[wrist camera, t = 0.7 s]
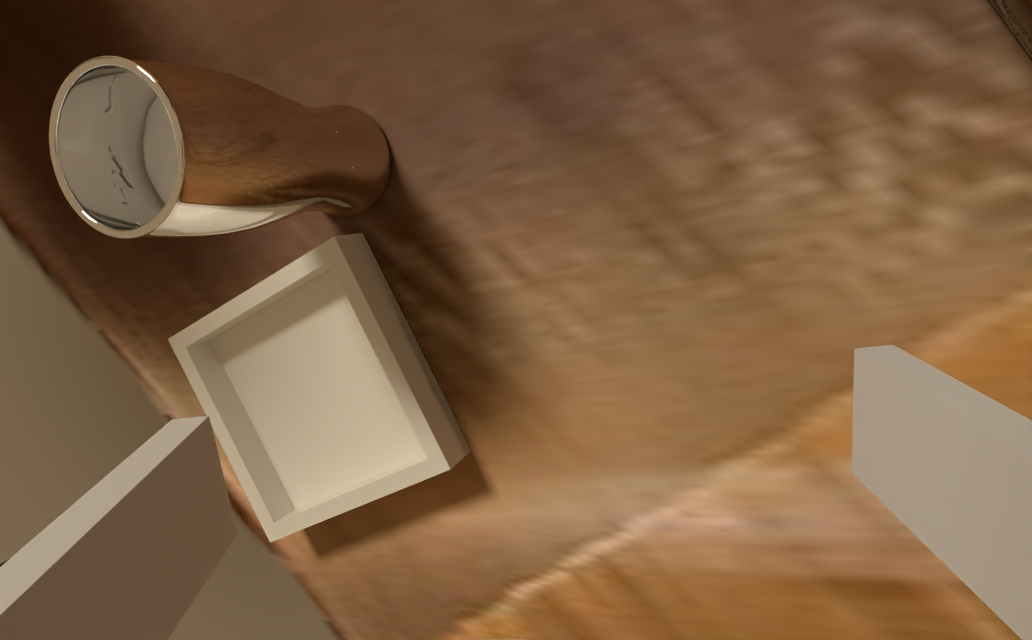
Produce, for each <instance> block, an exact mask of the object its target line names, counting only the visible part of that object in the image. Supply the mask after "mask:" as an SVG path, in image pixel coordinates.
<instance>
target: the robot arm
mask: <svg viewBox="0 0 1032 640" xmlns="http://www.w3.org/2000/svg"><path fill="white" fill-rule="evenodd" d="M851 473H852V474H854V475H855V476H856V477H857V478H858V479H859V480H860V481H861V482H862V483H863V484H864V485H865V486H866V487H867V488H868V489H869V490H870V491H871V492H872V493H873V494H874V495H875V496H876V497H877V498H878V499H879V500H880V501H881V502H882V503H883V504H884V505H885V506H886V507H887V508H888V509H889V510H890V511H891V512H892V513H893V514H894V515H895V516H896V517H897V518H898V519H899V520H900V521H901V522H902V523H903V524H905V525H906V526H907V527H908V528H909V529H910V530H911V531H912V532H913V533H914V534H915V535H916V536H917V537H918V538H919V539H920V540H921V541H922V542H923V543H924V544H925V545H926V546H927V547H928V548H929V549H930V550H931V551H932V552H933V553H934V554H935V555H936V556H937V557H938V558H939V559H940V560H941V561H942V562H943V563H944V564H945V565H946V566H947V567H948V568H949V569H950V570H951V571H952V572H953V573H954V574H956V575H957V576H958V577H959V578H960V579H961V580H962V581H963V582H964V583H965V584H966V585H967V586H968V587H969V588H970V589H971V590H972V591H973V592H974V593H975V594H976V595H977V596H978V597H979V598H980V599H981V600H982V601H983V602H984V603H985V604H986V605H987V606H988V607H989V608H990V609H991V610H992V611H993V612H994V613H995V614H996V615H997V616H998V617H999V618H1000V619H1001V620H1002V621H1003V622H1004V623H1005V624H1007V625H1008V626H1009V627H1010V628H1011V629H1012V630H1013V631H1014V632H1015V633H1016V634H1017V635H1018V636H1019V637H1020V638H1021V639H1022V640H1032V421H1031V420H1029V419H1028V418H1026V417H1024V416H1022V415H1020V414H1018V413H1017V412H1015V411H1013V410H1011V409H1009V408H1007V407H1006V406H1004V405H1002V404H1000V403H998V402H996V401H995V400H993V399H991V398H989V397H987V396H986V395H984V394H982V393H980V392H978V391H976V390H975V389H973V388H971V387H969V386H967V385H965V384H964V383H962V382H960V381H958V380H956V379H954V378H953V377H951V376H949V375H947V374H945V373H943V372H942V371H940V370H938V369H936V368H934V367H932V366H931V365H929V364H927V363H925V362H923V361H921V360H920V359H918V358H916V357H914V356H912V355H910V354H909V353H907V352H905V351H903V350H901V349H899V348H898V347H896V346H894V345H886V346H876V347H867V348H857V349H855V352H854V390H853V429H852V468H851ZM236 536H237V530H236V526H235V522H234V518H233V514H232V509H231V505H230V501H229V497H228V493H227V489H226V484H225V480H224V476H223V472H222V468H221V463H220V459H219V455H218V451H217V447H216V442H215V438H214V434H213V430H212V426H211V422H210V417H209V416H202V417H192V418H182V419H173V420H171V421H170V422H169V423H167V424H166V425H165V426H164V427H163V428H162V429H160V430H159V431H158V432H157V433H156V434H155V435H153V436H152V437H151V438H150V439H149V440H148V441H146V442H145V443H144V444H143V445H142V446H141V447H139V448H138V449H137V450H136V451H135V452H134V453H132V454H131V455H130V456H129V457H128V458H127V459H125V460H124V461H123V462H122V463H121V464H120V465H119V466H117V467H116V468H115V469H114V470H113V471H112V472H111V473H109V474H108V475H107V476H106V477H105V478H103V479H102V480H101V481H100V482H99V483H98V484H97V485H95V486H94V487H93V488H92V489H91V490H90V491H88V492H87V493H86V494H85V495H84V496H82V498H80V499H79V500H78V501H77V502H76V503H74V504H73V505H72V506H71V507H70V508H69V509H68V510H66V511H65V512H64V513H63V514H61V515H60V516H59V517H58V518H57V519H56V520H55V521H53V522H52V523H51V524H50V525H49V526H48V527H47V528H45V529H44V530H43V531H42V532H41V533H39V534H38V535H37V536H36V537H35V538H34V539H33V540H31V541H30V542H29V543H28V544H27V545H25V546H24V547H23V548H22V549H21V550H20V551H18V552H17V553H16V554H15V555H14V556H13V557H12V558H10V559H9V560H7V561H5V562H4V563H2V564H0V640H168V638H169V637H170V635H171V634H172V632H173V630H174V629H175V628H176V626H177V625H178V623H179V622H180V620H181V619H182V617H183V616H184V614H185V613H186V611H187V610H188V608H189V607H190V605H191V604H192V602H193V601H194V599H195V598H196V596H197V595H198V593H199V592H200V590H201V589H202V587H203V586H204V584H205V583H206V581H207V579H208V578H209V577H210V575H211V574H212V572H213V571H214V569H215V568H216V566H217V565H218V563H219V562H220V560H221V559H222V557H223V556H224V554H225V553H226V551H227V550H228V548H229V546H230V545H231V544H232V542H233V541H234V539H235V538H236Z"/></svg>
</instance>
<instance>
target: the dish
mask: <svg viewBox="0 0 1032 640" xmlns="http://www.w3.org/2000/svg"><path fill="white" fill-rule="evenodd" d="M168 341H169V343H170V345H171V347H172V349H173V351H174V353H175V355H176V357H177V359H178V361H179V362H180V364H181V366H182V368H183V370H184V372H185V374H186V376H187V378H188V380H189V382H190V384H191V386H192V388H193V390H194V392H195V394H196V396H197V398H198V400H199V402H200V404H201V406H202V408H203V410H204V412H205V414H206V416H209V417H210V422H211V426H212V428H213V430H214V432H215V434H216V436H217V438H218V440H219V442H220V444H221V446H222V448H223V450H224V452H225V454H226V456H227V458H228V460H229V462H230V464H231V466H232V468H233V470H234V472H235V474H236V476H237V478H238V480H239V482H240V484H241V486H242V487H243V489H244V491H245V493H246V495H247V497H248V499H249V501H250V503H251V505H252V507H253V509H254V511H255V513H256V515H257V517H258V519H259V521H260V523H261V525H262V527H263V529H264V531H265V533H266V535H267V537H268V539H269V541H270V542H272V541H275V540H277V539H280V538H282V537H285V536H287V535H290V534H292V533H295V532H297V531H300V530H302V529H305V528H307V527H310V526H312V525H315V524H317V523H319V522H322V521H324V520H327V519H329V518H332V517H334V516H337V515H339V514H342V513H344V512H347V511H349V510H352V509H354V508H357V507H359V506H362V505H364V504H367V503H369V502H371V501H374V500H376V499H379V498H381V497H384V496H386V495H389V494H391V493H394V492H396V491H399V490H401V489H404V488H406V487H409V486H411V485H414V484H416V483H418V482H421V481H423V480H426V479H428V478H431V477H433V476H436V475H438V474H441V473H443V472H446V471H448V470H451V469H452V468H453V467H454V466H455V465H456V464H457V463H458V462H459V461H461V460H462V459H463V458H464V457H465V456H466V455H467V454H468V453H469V452H470V451H471V450H470V448H469V446H468V444H467V442H466V440H465V438H464V436H463V434H462V432H461V430H460V428H459V426H458V424H457V422H456V420H455V418H454V416H453V414H452V412H451V409H450V407H449V405H448V403H447V401H446V399H445V397H444V395H443V393H442V391H441V389H440V387H439V385H438V383H437V381H436V379H435V377H434V375H433V373H432V371H431V369H430V367H429V365H428V363H427V361H426V359H425V357H424V355H423V353H422V351H421V349H420V347H419V345H418V343H417V341H416V339H415V337H414V335H413V333H412V331H411V329H410V327H409V325H408V323H407V321H406V319H405V317H404V315H403V313H402V311H401V309H400V307H399V305H398V303H397V301H396V299H395V297H394V295H393V293H392V291H391V289H390V287H389V285H388V283H387V281H386V279H385V277H384V275H383V273H382V271H381V269H380V267H379V265H378V263H377V261H376V259H375V257H374V255H373V253H372V251H371V249H370V247H369V245H368V243H367V241H366V239H365V237H364V235H363V233H358V234H350V235H342V236H334V237H333V238H331V239H329V240H328V241H326V242H324V243H323V244H321V245H320V246H318V247H316V248H315V249H313V250H311V251H310V252H308V253H307V254H305V255H303V256H302V257H300V258H299V259H297V260H295V261H294V262H292V263H290V264H289V265H287V266H286V267H284V268H282V269H281V270H279V271H277V272H276V273H274V274H273V275H271V276H269V277H268V278H266V279H264V280H263V281H261V282H260V283H258V284H256V285H255V286H253V287H251V288H250V289H248V290H247V291H245V292H243V293H242V294H240V295H239V296H237V297H235V298H234V299H232V300H230V301H229V302H227V303H226V304H224V305H222V306H221V307H219V308H217V309H216V310H214V311H213V312H211V313H209V314H208V315H206V316H204V317H203V318H201V319H200V320H198V321H196V322H195V323H193V324H191V325H190V326H188V327H187V328H185V329H183V330H182V331H180V332H179V333H177V334H175V335H174V336H172V337H170V338H169V339H168Z"/></svg>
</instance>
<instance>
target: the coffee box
mask: <svg viewBox="0 0 1032 640" xmlns="http://www.w3.org/2000/svg"><path fill="white" fill-rule="evenodd" d="M989 1H990V2H991V4H992V5H993V6H994V8H995V9H996V11H997V12H998V13H999V15H1000V16H1001V17H1002V19H1003V20H1004V21H1005V23H1006V24H1007V26H1008V27H1009V28H1010V30H1011V31H1012V32H1013V34H1014V35H1015V36H1016V38H1017V39H1018V40H1019V42H1020V43H1021V44H1022V46H1023V47H1024V49H1025V50H1026V51H1027V53H1028V54H1029V56H1030V57H1031V58H1032V0H989Z"/></svg>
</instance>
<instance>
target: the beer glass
mask: <svg viewBox="0 0 1032 640" xmlns="http://www.w3.org/2000/svg"><path fill="white" fill-rule="evenodd" d="M49 147H50V155H51V160H52V165H53V169H54V172H55V175H56V178H57V181H58V183H59V186H60V188H61V190H62V192H63V194H64V196H65V197H66V199H67V201H68V202H69V204H70V205H71V207H72V208H73V209H74V211H75V212H76V213H77V214H78V215H79V216H80V217H81V218H82V219H83V220H84V221H85V222H86V223H87V224H89V225H90V226H91V227H93V228H94V229H96V230H97V231H99V232H101V233H103V234H105V235H108V236H111V237H115V238H121V239H131V238H196V237H213V236H221V235H228V234H235V233H240V232H244V231H248V230H252V229H256V228H259V227H263V226H266V225H269V224H272V223H275V222H278V221H280V220H283V219H286V218H289V217H291V216H294V215H297V214H300V213H303V212H307V211H320V212H324V213H328V214H332V215H338V216H351V215H356V214H359V213H361V212H363V211H365V210H367V209H369V208H370V207H371V206H373V205H374V204H375V203H376V202H377V201H378V199H379V198H380V197H381V195H382V194H383V192H384V190H385V188H386V185H387V183H388V179H389V175H390V165H391V161H390V152H389V147H388V144H387V141H386V138H385V136H384V134H383V132H382V130H381V129H380V127H379V126H378V124H377V123H376V122H375V121H374V120H373V119H372V118H371V117H370V116H368V115H367V114H366V113H364V112H362V111H361V110H359V109H357V108H354V107H351V106H345V105H332V106H325V107H318V108H312V107H307V106H304V105H302V104H299V103H297V102H295V101H293V100H290V99H288V98H286V97H284V96H282V95H280V94H278V93H276V92H274V91H271V90H269V89H267V88H265V87H263V86H261V85H258V84H256V83H253V82H250V81H248V80H245V79H243V78H240V77H237V76H235V75H231V74H227V73H223V72H219V71H215V70H211V69H207V68H202V67H196V66H190V65H184V64H178V63H169V62H160V61H149V60H137V59H127V58H123V57H119V56H109V55H108V56H99V57H94V58H91V59H89V60H87V61H85V62H83V63H81V64H80V65H79V66H77V67H76V68H75V69H74V70H73V71H72V72H71V73H70V74H69V75H68V76H67V77H66V79H65V80H64V81H63V83H62V85H61V86H60V88H59V90H58V92H57V95H56V97H55V100H54V103H53V107H52V111H51V116H50V123H49Z"/></svg>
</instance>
